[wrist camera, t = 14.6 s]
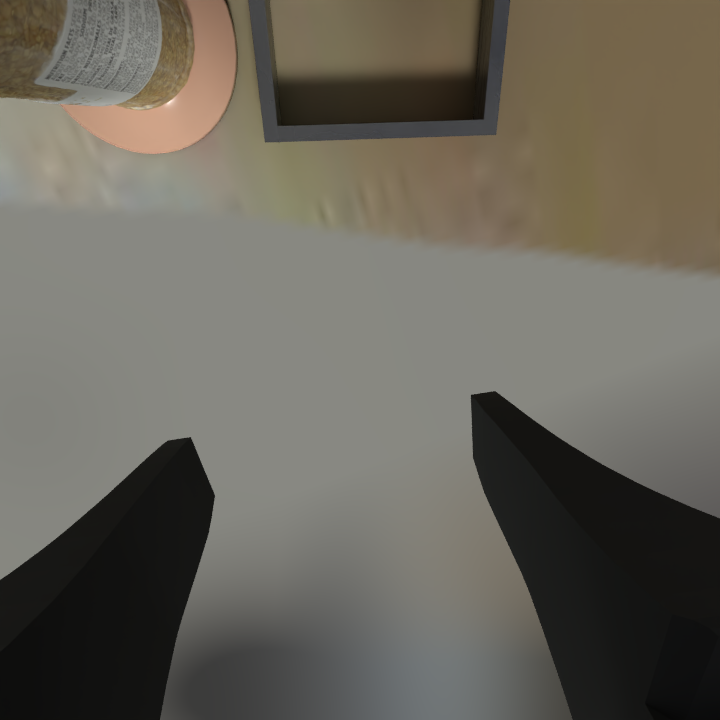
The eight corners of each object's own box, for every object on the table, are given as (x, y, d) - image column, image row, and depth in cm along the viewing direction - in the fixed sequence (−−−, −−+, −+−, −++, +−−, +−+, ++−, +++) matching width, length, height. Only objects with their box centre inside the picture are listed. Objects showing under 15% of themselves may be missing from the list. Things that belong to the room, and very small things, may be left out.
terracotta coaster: (219, -94, 14) (215, -100, 14) (250, 150, 17) (248, 150, 17) (-7, -90, 14) (-17, -96, 14) (69, 156, 17) (62, 156, 17)
